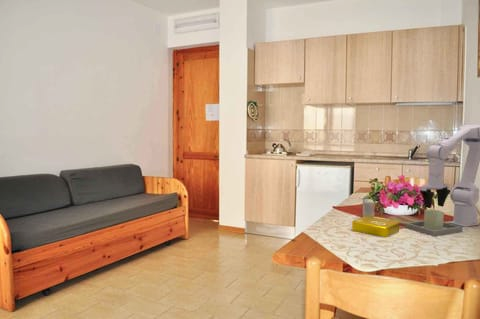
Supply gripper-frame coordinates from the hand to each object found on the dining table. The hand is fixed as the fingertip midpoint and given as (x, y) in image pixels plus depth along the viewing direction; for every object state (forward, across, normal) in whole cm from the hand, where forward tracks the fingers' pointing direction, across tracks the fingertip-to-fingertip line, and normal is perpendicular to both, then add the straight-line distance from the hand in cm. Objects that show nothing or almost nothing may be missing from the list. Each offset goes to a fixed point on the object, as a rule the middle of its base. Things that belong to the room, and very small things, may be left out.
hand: (434, 206), depth 161 cm
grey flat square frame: (+10, 0, 0) cm, 10 cm away
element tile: (+10, +23, -9) cm, 27 cm away
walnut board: (+10, 0, -15) cm, 18 cm away
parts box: (+10, 0, 0) cm, 10 cm away
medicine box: (+10, +12, -25) cm, 29 cm away
